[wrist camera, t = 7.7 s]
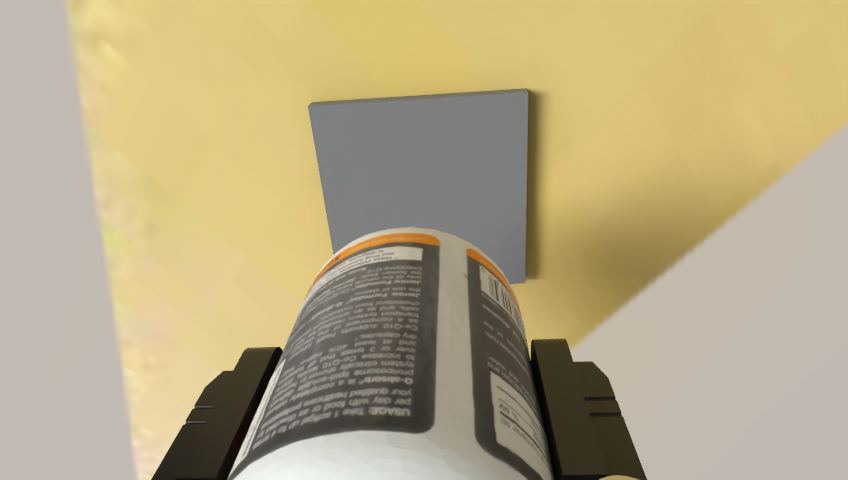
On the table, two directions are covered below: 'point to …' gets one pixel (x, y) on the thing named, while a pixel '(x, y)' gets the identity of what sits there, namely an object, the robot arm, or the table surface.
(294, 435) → the pill bottle
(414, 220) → the coaster
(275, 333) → the table surface
